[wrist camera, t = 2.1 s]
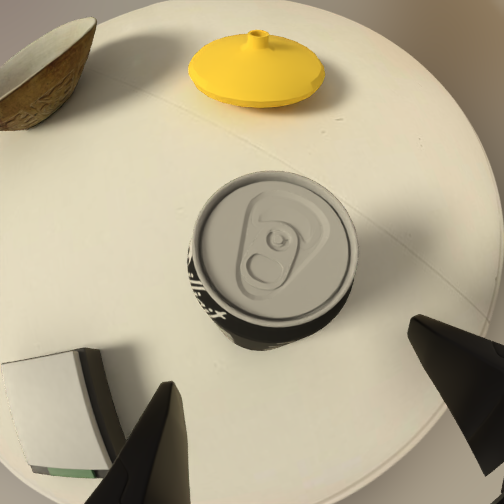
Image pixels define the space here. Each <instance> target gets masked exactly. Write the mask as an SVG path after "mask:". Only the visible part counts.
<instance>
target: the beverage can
mask: <svg viewBox="0 0 504 504" xmlns="http://www.w3.org/2000/svg"><path fill="white" fill-rule="evenodd" d="M358 257H359V249H358V239H357V235H356V231H355V227H354V225H353V222H352V220H351V218H350V216H349V214H348V212H347V211H346V209H345V208H344V207H343V205H342V204H341V202H340V201H339V200H338V199H337V198H336V197H335V196H334V195H333V194H332V193H331V192H329V191H328V190H327V189H326V188H324V187H323V186H321V185H320V184H318V183H316V182H315V181H313V180H311V179H309V178H306V177H303V176H300V175H298V174H294V173H290V172H284V171H260V172H255V173H250V174H247V175H244V176H241V177H238V178H236V179H234V180H232V181H230V182H229V183H227V184H225V185H224V186H222V187H221V188H220V189H219V190H217V191H216V192H215V193H214V194H213V195H212V196H211V197H210V198H209V199H208V201H207V202H206V204H205V205H204V206H203V208H202V210H201V211H200V213H199V215H198V218H197V220H196V223H195V226H194V230H193V235H192V238H191V241H190V245H189V250H188V259H187V264H188V274H189V279H190V283H191V286H192V289H193V291H194V293H195V296H196V298H197V299H198V301H199V303H200V304H201V306H202V307H203V309H204V310H205V311H206V312H207V314H208V315H209V316H210V317H211V319H212V320H213V321H214V322H215V324H216V325H217V326H218V327H219V328H220V330H221V331H222V332H223V333H224V334H225V335H226V337H227V338H229V339H230V340H231V341H232V342H234V343H235V344H237V345H239V346H241V347H243V348H246V349H250V350H256V351H265V350H271V349H275V348H278V347H281V346H283V345H286V344H289V343H292V342H294V341H297V340H300V339H302V338H305V337H307V336H310V335H312V334H314V333H315V332H317V331H319V330H320V329H322V328H323V327H325V326H326V325H327V324H328V323H329V322H331V321H332V320H333V319H334V318H335V316H336V315H337V314H338V313H339V312H340V310H341V309H342V307H343V306H344V304H345V303H346V301H347V299H348V296H349V294H350V292H351V289H352V285H353V281H354V276H355V273H356V269H357V264H358Z"/></svg>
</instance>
